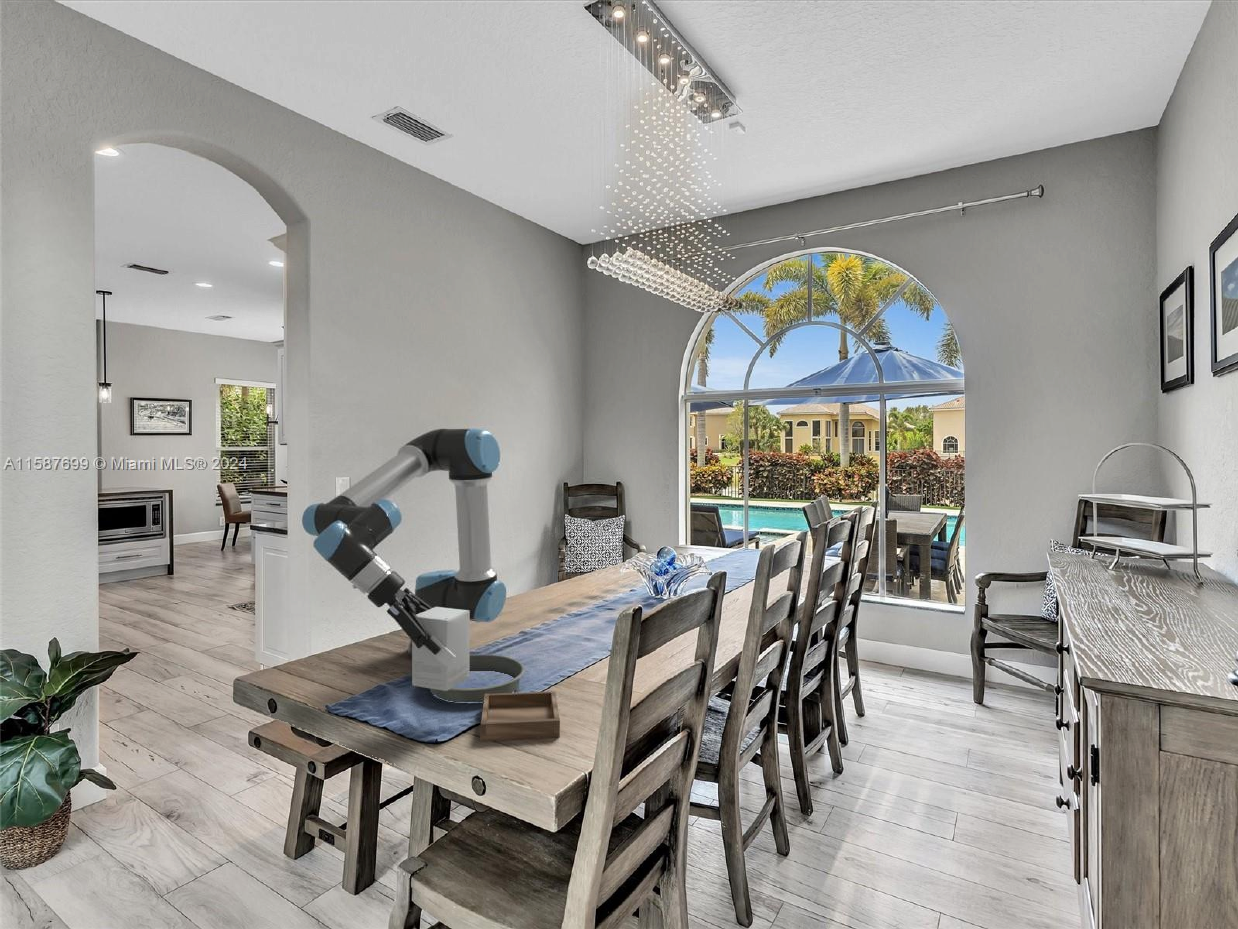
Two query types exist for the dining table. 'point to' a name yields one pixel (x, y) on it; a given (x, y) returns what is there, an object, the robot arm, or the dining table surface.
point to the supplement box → (454, 636)
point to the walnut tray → (520, 716)
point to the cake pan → (486, 664)
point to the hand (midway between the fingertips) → (453, 651)
